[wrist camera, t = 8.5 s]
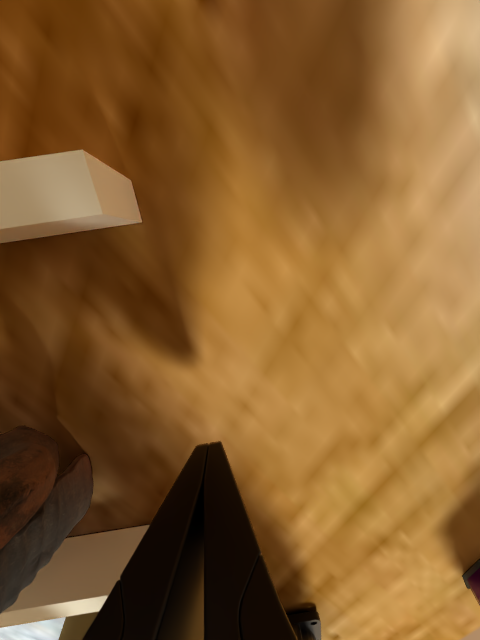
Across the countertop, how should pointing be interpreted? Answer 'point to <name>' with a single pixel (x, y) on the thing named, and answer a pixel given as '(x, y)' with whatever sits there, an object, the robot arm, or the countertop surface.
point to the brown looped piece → (35, 506)
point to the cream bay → (47, 220)
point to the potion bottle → (473, 580)
